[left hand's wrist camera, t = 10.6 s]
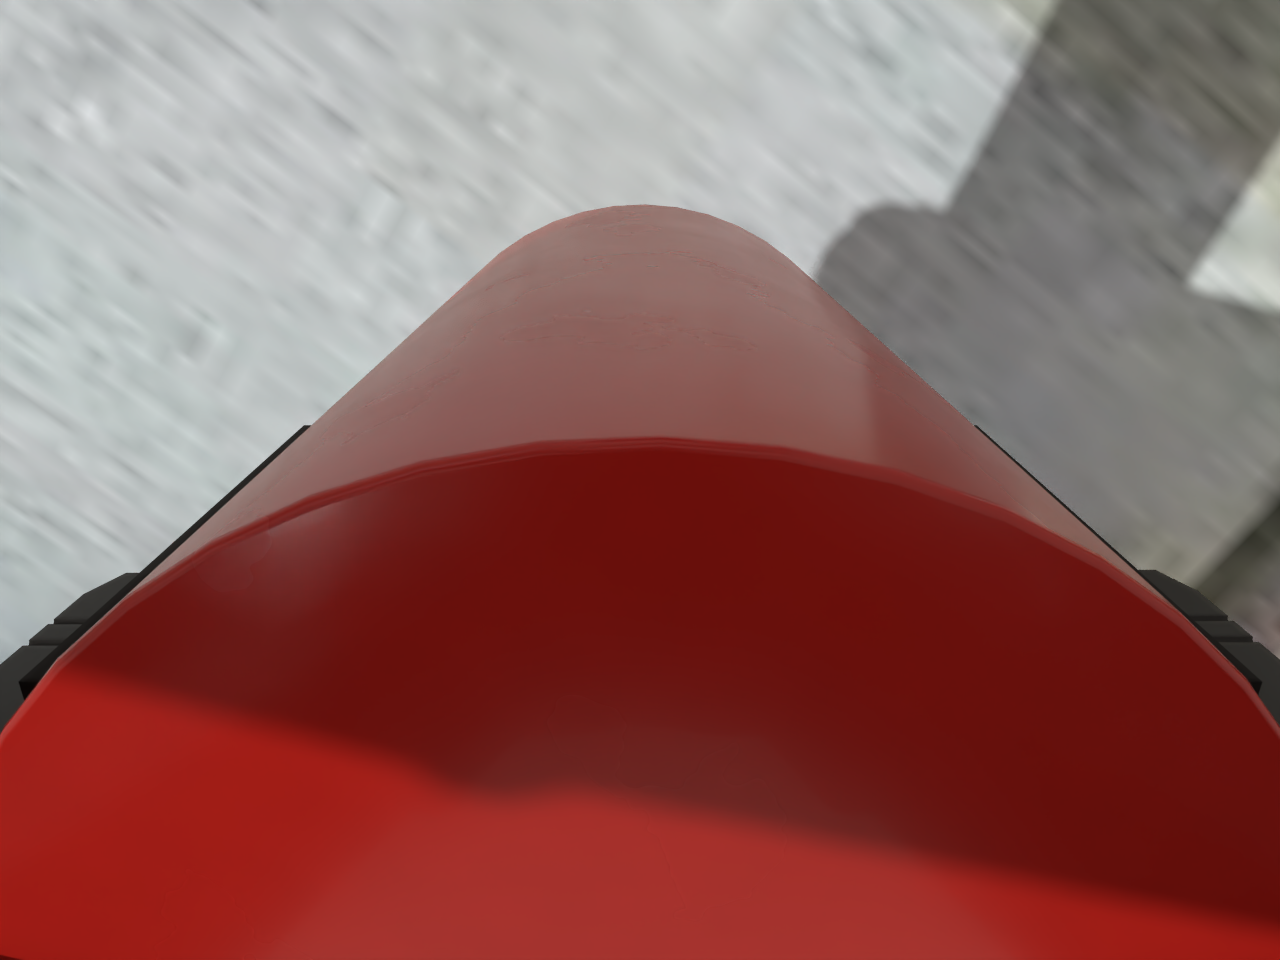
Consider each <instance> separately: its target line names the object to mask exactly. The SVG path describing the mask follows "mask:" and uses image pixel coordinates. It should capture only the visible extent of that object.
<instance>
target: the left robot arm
mask: <svg viewBox="0 0 1280 960" xmlns="http://www.w3.org/2000/svg"><path fill="white" fill-rule="evenodd" d="M310 426H311V425H304V426H303V427H302V428H301V429H299V430H298V431H297V432H296V433H295V434H294V435H293V436H292V437H291V438H289V439H288V440H287V441H286V442H285V443H284V444H283V445H282V446H281V447H279V448H278V449H277V450H276V451H275V452H274V453H273V454H272V455H270V456H269V457H268V458H267V459H266V460H265V461H264V462H263V463H262V464H260V465H259V466H258V467H257V468H256V469H255V470H254V471H253V472H252V473H250V474H249V475H248V476H247V477H246V478H245V479H244V480H243V481H242V482H240V483H239V484H238V485H237V486H236V487H235V488H234V489H233V490H231V491H230V492H229V493H228V494H227V495H226V496H225V497H224V498H223V499H221V500H220V501H219V502H218V503H217V504H216V505H215V506H214V507H213V508H211V509H210V510H209V511H208V512H207V513H206V514H205V515H204V516H202V517H201V518H200V519H199V520H198V521H197V522H196V523H195V524H194V525H192V526H191V527H190V528H189V529H188V530H187V531H186V532H185V533H184V534H182V535H181V536H180V537H179V538H178V539H177V540H176V541H175V542H173V543H172V544H171V545H170V546H169V547H168V548H167V549H166V550H165V551H163V552H162V553H161V554H160V555H159V556H158V557H157V558H156V559H155V560H153V561H152V562H151V563H150V564H149V565H148V566H147V567H146V568H144V569H143V570H142V571H141V572H140V573H125V574H123V575H121V576H119V577H117V578H115V579H113V580H111V581H109V582H107V583H105V584H103V585H101V586H99V587H97V588H95V589H93V590H91V591H89V592H87V593H85V594H83V595H82V596H81V597H80V598H79V599H77V600H76V601H75V602H74V603H73V604H72V605H70V606H69V607H68V608H67V609H66V610H64V611H63V612H62V613H61V614H60V615H59V616H57V617H56V618H55V619H54V624H48V625H47V626H45V627H44V628H43V629H42V630H41V631H40V632H38V633H37V634H36V635H35V636H34V637H32V638H31V639H30V640H29V646H22V647H21V648H19V649H18V650H17V651H16V652H15V653H14V654H12V655H11V656H10V657H9V658H8V659H6V660H5V661H4V662H3V663H2V664H1V665H0V733H1V731H2V730H3V728H4V726H5V725H6V723H7V722H8V721H9V719H10V718H11V717H12V716H13V714H14V713H15V712H16V711H17V709H18V708H19V707H20V705H21V704H22V703H23V702H24V700H25V699H26V698H27V696H28V695H29V694H30V693H31V691H32V690H33V689H34V688H35V686H36V685H37V684H38V682H39V681H40V680H41V679H42V677H43V676H44V675H45V673H46V672H47V671H48V670H49V668H50V667H51V666H52V665H53V663H54V662H55V661H56V659H57V658H58V657H59V656H61V655H62V654H63V653H64V652H65V651H66V650H67V649H68V648H69V647H70V646H71V645H73V644H74V643H75V642H76V641H77V640H78V639H79V638H80V637H81V636H82V635H83V634H85V633H86V632H87V631H88V630H89V629H90V628H91V627H92V626H93V625H94V624H95V623H97V622H98V621H99V620H100V619H101V618H102V617H103V616H104V615H105V614H106V613H107V612H109V611H110V610H111V609H112V608H113V607H114V606H115V605H116V604H117V603H118V602H119V601H121V600H122V599H123V598H124V597H125V596H126V595H127V594H128V593H129V592H130V591H131V590H133V589H134V588H135V587H136V586H137V585H138V584H139V583H140V582H141V581H142V580H143V579H145V578H146V577H147V576H148V575H149V574H150V573H151V572H152V571H153V570H154V569H155V568H157V567H158V566H159V565H160V564H161V563H162V562H163V561H164V560H165V559H166V558H167V557H169V556H170V555H171V554H172V553H173V552H174V551H175V550H176V549H177V548H178V547H179V546H181V545H182V544H183V543H184V542H185V541H186V540H187V539H188V538H189V537H190V536H191V535H193V534H194V533H195V532H196V531H197V530H198V529H199V528H200V527H201V526H202V525H203V524H205V523H206V522H207V521H208V520H209V519H210V518H211V517H212V516H213V515H214V514H215V513H217V512H218V511H219V510H220V509H221V508H222V507H223V506H224V505H225V504H226V503H227V502H229V501H230V500H231V499H232V498H233V497H234V496H235V495H236V494H237V493H238V492H239V491H241V490H242V489H243V488H244V487H245V486H246V485H247V484H248V483H249V482H250V481H251V480H253V479H254V478H255V477H256V476H257V475H258V474H259V473H260V472H261V471H262V470H263V469H265V468H266V467H267V466H268V465H269V464H270V463H271V462H272V461H273V460H274V459H275V458H277V457H278V456H279V455H280V454H281V453H282V452H283V451H284V450H285V449H286V448H287V447H289V446H290V445H291V444H292V443H293V442H294V441H295V440H296V439H297V438H298V437H299V436H301V435H302V434H303V433H304V432H305V431H306V430H307V429H308V428H309V427H310ZM974 426H975V427H976V428H977V429H978V430H979V431H980V432H981V433H983V434H984V435H985V436H986V437H987V438H988V439H989V440H990V441H991V442H992V443H994V444H995V445H996V446H997V447H998V448H999V449H1000V450H1001V451H1002V452H1004V453H1005V454H1006V455H1007V456H1008V457H1009V458H1010V459H1011V460H1012V461H1014V462H1015V463H1016V464H1017V465H1018V466H1019V467H1020V468H1021V469H1022V470H1023V471H1025V472H1026V473H1027V474H1028V475H1029V476H1030V477H1031V478H1032V479H1033V480H1035V481H1036V482H1037V483H1038V484H1039V485H1040V486H1041V487H1042V488H1043V489H1045V490H1046V491H1047V492H1048V493H1049V494H1050V495H1051V496H1052V497H1053V498H1054V499H1056V500H1057V501H1058V502H1059V503H1060V504H1061V505H1062V506H1063V507H1064V508H1066V509H1067V510H1068V511H1069V512H1070V513H1071V514H1072V515H1073V516H1074V517H1076V518H1077V519H1078V520H1079V521H1080V522H1081V523H1082V524H1083V525H1084V526H1086V527H1087V528H1088V529H1089V530H1090V531H1091V532H1092V533H1093V534H1094V535H1095V536H1097V537H1098V538H1099V539H1100V540H1101V541H1102V542H1103V543H1104V544H1105V545H1107V546H1108V547H1109V548H1110V549H1111V550H1112V551H1113V552H1114V553H1115V554H1117V555H1118V556H1119V557H1120V558H1121V559H1122V560H1123V561H1124V562H1125V563H1126V564H1128V565H1129V566H1130V567H1131V568H1132V569H1133V570H1134V571H1135V572H1136V573H1138V574H1139V575H1140V576H1141V577H1142V578H1143V579H1144V580H1145V581H1146V582H1148V583H1149V584H1150V585H1151V586H1152V587H1153V588H1154V589H1155V590H1156V591H1157V592H1159V593H1160V594H1161V595H1162V596H1163V597H1164V598H1165V599H1166V600H1167V601H1169V602H1170V603H1171V604H1172V605H1173V606H1174V607H1175V608H1176V609H1177V610H1179V611H1180V612H1181V613H1182V614H1183V615H1184V616H1185V617H1186V618H1187V619H1188V620H1189V621H1190V622H1191V623H1192V624H1193V625H1194V626H1195V627H1196V628H1197V629H1198V630H1199V631H1200V632H1201V633H1202V634H1203V635H1204V636H1205V637H1206V638H1207V639H1208V640H1209V641H1210V642H1211V643H1212V644H1213V645H1214V646H1215V647H1216V648H1217V649H1218V650H1219V651H1220V652H1221V653H1222V654H1223V655H1224V656H1225V657H1226V658H1227V659H1228V660H1229V661H1230V662H1231V663H1232V664H1233V665H1234V666H1235V667H1236V668H1237V669H1238V670H1239V671H1240V672H1241V673H1242V674H1243V675H1244V676H1245V677H1246V678H1247V680H1248V681H1249V683H1250V684H1251V686H1252V687H1253V688H1254V690H1255V691H1256V693H1257V694H1258V696H1259V697H1260V698H1261V700H1262V701H1263V703H1264V704H1265V706H1266V707H1267V708H1268V710H1269V711H1270V713H1271V714H1272V716H1273V717H1274V718H1275V720H1276V721H1277V723H1278V724H1279V726H1280V659H1278V658H1277V657H1276V656H1275V655H1274V654H1272V653H1271V652H1270V651H1269V650H1268V649H1266V648H1265V647H1264V646H1263V645H1262V644H1260V643H1259V642H1253V640H1252V638H1253V637H1252V636H1251V635H1250V634H1249V633H1247V632H1246V631H1245V630H1244V629H1243V628H1241V627H1240V626H1239V625H1238V624H1237V623H1235V622H1234V621H1228V619H1227V618H1228V616H1227V615H1226V614H1225V613H1223V612H1222V611H1221V610H1220V609H1219V608H1217V607H1216V606H1215V605H1214V604H1213V603H1212V602H1210V601H1209V600H1208V599H1207V598H1206V597H1204V596H1203V595H1202V594H1201V593H1200V592H1198V591H1197V590H1195V589H1193V588H1191V587H1189V586H1187V585H1185V584H1183V583H1181V582H1179V581H1177V580H1175V579H1172V578H1170V577H1168V576H1166V575H1164V574H1162V573H1160V572H1158V571H1156V570H1137V569H1136V568H1135V567H1134V566H1133V565H1132V564H1131V563H1129V562H1128V561H1127V560H1126V559H1125V558H1124V557H1123V556H1122V555H1121V554H1119V553H1118V552H1117V551H1116V550H1115V549H1114V548H1113V547H1112V546H1111V545H1109V544H1108V543H1107V542H1106V541H1105V540H1104V539H1103V538H1102V537H1100V536H1099V535H1098V534H1097V533H1096V532H1095V531H1094V530H1093V529H1092V528H1090V527H1089V526H1088V525H1087V524H1086V523H1085V522H1084V521H1083V520H1082V519H1080V518H1079V517H1078V516H1077V515H1076V514H1075V513H1074V512H1073V511H1071V510H1070V509H1069V508H1068V507H1067V506H1066V505H1065V504H1064V503H1063V502H1061V501H1060V500H1059V499H1058V498H1057V497H1056V496H1055V495H1054V494H1053V493H1051V492H1050V491H1049V490H1048V489H1047V488H1046V487H1045V486H1044V485H1042V484H1041V483H1040V482H1039V481H1038V480H1037V479H1036V478H1035V477H1034V476H1032V475H1031V474H1030V473H1029V472H1028V471H1027V470H1026V469H1025V468H1024V467H1022V466H1021V465H1020V464H1019V463H1018V462H1017V461H1016V460H1015V459H1013V458H1012V457H1011V456H1010V455H1009V454H1008V453H1007V452H1006V451H1005V450H1003V449H1002V448H1001V447H1000V446H999V445H998V444H997V443H996V442H995V441H993V440H992V439H991V438H990V437H989V436H988V435H987V434H986V433H984V432H983V431H982V430H981V429H980V428H979V427H978V426H977V425H974Z"/></svg>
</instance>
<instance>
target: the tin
mask: <svg viewBox="0 0 1280 960" xmlns="http://www.w3.org/2000/svg"><path fill="white" fill-rule="evenodd" d="M0 960H1280V726H1279V724H1278V723H1277V721H1276V720H1275V718H1274V717H1273V716H1272V714H1271V713H1270V711H1269V710H1268V708H1267V707H1266V706H1265V704H1264V703H1263V701H1262V700H1261V698H1260V697H1259V696H1258V694H1257V693H1256V691H1255V690H1254V688H1253V687H1252V686H1251V684H1250V683H1249V681H1248V680H1247V678H1246V677H1245V676H1244V675H1243V674H1242V673H1241V672H1240V671H1239V670H1238V669H1237V668H1236V667H1235V666H1234V665H1233V664H1232V663H1231V662H1230V661H1229V660H1228V659H1227V658H1226V657H1225V656H1224V655H1223V654H1222V653H1221V652H1220V651H1219V650H1218V649H1217V648H1216V647H1215V646H1214V645H1213V644H1212V643H1211V642H1210V641H1209V640H1208V639H1207V638H1206V637H1205V636H1204V635H1203V634H1202V633H1201V632H1200V631H1199V630H1198V629H1197V628H1196V627H1195V626H1194V625H1193V624H1192V623H1191V622H1190V621H1189V620H1188V619H1187V618H1186V617H1185V616H1184V615H1183V614H1182V613H1181V612H1180V611H1179V610H1177V609H1176V608H1175V607H1174V606H1173V605H1172V604H1171V603H1170V602H1169V601H1167V600H1166V599H1165V598H1164V597H1163V596H1162V595H1161V594H1160V593H1159V592H1157V591H1156V590H1155V589H1154V588H1153V587H1152V586H1151V585H1150V584H1149V583H1148V582H1146V581H1145V580H1144V579H1143V578H1142V577H1141V576H1140V575H1139V574H1138V573H1136V572H1135V571H1134V570H1133V569H1132V568H1131V567H1130V566H1129V565H1128V564H1126V563H1125V562H1124V561H1123V560H1122V559H1121V558H1120V557H1119V556H1118V555H1117V554H1115V553H1114V552H1113V551H1112V550H1111V549H1110V548H1109V547H1108V546H1107V545H1105V544H1104V543H1103V542H1102V541H1101V540H1100V539H1099V538H1098V537H1097V536H1095V535H1094V534H1093V533H1092V532H1091V531H1090V530H1089V529H1088V528H1087V527H1086V526H1084V525H1083V524H1082V523H1081V522H1080V521H1079V520H1078V519H1077V518H1076V517H1074V516H1073V515H1072V514H1071V513H1070V512H1069V511H1068V510H1067V509H1066V508H1064V507H1063V506H1062V505H1061V504H1060V503H1059V502H1058V501H1057V500H1056V499H1054V498H1053V497H1052V496H1051V495H1050V494H1049V493H1048V492H1047V491H1046V490H1045V489H1043V488H1042V487H1041V486H1040V485H1039V484H1038V483H1037V482H1036V481H1035V480H1033V479H1032V478H1031V477H1030V476H1029V475H1028V474H1027V473H1026V472H1025V471H1023V470H1022V469H1021V468H1020V467H1019V466H1018V465H1017V464H1016V463H1015V462H1014V461H1012V460H1011V459H1010V458H1009V457H1008V456H1007V455H1006V454H1005V453H1004V452H1002V451H1001V450H1000V449H999V448H998V447H997V446H996V445H995V444H994V443H992V442H991V441H990V440H989V439H988V438H987V437H986V436H985V435H984V434H983V433H981V432H980V431H979V430H978V429H977V428H976V427H975V426H974V425H973V424H971V423H970V422H969V421H968V420H967V419H966V418H965V417H964V416H963V415H961V414H960V413H959V412H958V411H957V410H956V409H955V408H954V407H953V406H952V405H950V404H949V403H948V402H947V401H946V400H945V399H944V398H943V397H942V396H940V395H939V394H938V393H937V392H936V391H935V390H934V389H933V388H932V387H930V386H929V385H928V384H927V383H926V382H925V381H924V380H923V379H922V378H921V377H919V376H918V375H917V374H916V373H915V372H914V371H913V370H912V369H911V368H909V367H908V366H907V365H906V364H905V363H904V362H903V361H902V360H901V359H899V358H898V357H897V356H896V355H895V354H894V353H893V352H892V351H891V350H889V349H888V348H887V347H886V346H885V345H884V344H883V343H882V342H881V341H880V340H878V339H877V338H876V337H875V336H874V335H873V334H872V333H871V332H870V331H868V330H867V329H866V328H865V327H864V326H863V325H862V324H861V323H860V322H858V321H857V320H856V319H855V318H854V317H853V316H852V315H851V314H850V313H849V312H847V311H846V310H845V309H844V308H843V307H842V306H841V305H840V304H839V303H837V302H836V301H835V300H834V299H833V298H832V297H831V296H830V295H829V294H827V293H826V292H825V291H824V290H823V289H822V288H821V287H820V286H819V285H818V284H816V283H815V282H814V281H813V280H812V279H811V278H810V277H809V276H808V275H806V274H805V273H804V272H803V271H802V270H801V269H800V268H799V267H798V266H796V265H795V264H794V263H793V262H792V261H791V260H790V259H789V258H787V257H786V256H785V255H783V254H782V253H781V252H779V251H778V250H777V249H775V248H774V247H773V246H771V245H770V244H769V243H767V242H766V241H764V240H763V239H761V238H759V237H757V236H755V235H754V234H752V233H750V232H748V231H746V230H744V229H743V228H741V227H739V226H737V225H734V224H732V223H729V222H727V221H724V220H721V219H719V218H716V217H713V216H711V215H708V214H704V213H699V212H695V211H691V210H686V209H682V208H678V207H667V206H656V205H627V206H612V207H607V208H601V209H596V210H591V211H585V212H581V213H578V214H575V215H572V216H569V217H566V218H563V219H560V220H557V221H554V222H552V223H550V224H548V225H546V226H544V227H542V228H540V229H538V230H536V231H534V232H532V233H530V234H528V235H526V236H524V237H523V238H521V239H520V240H518V241H517V242H515V243H514V244H512V245H511V246H509V247H508V248H506V249H505V250H503V251H502V252H501V253H499V254H498V255H497V256H496V257H495V258H494V259H493V260H492V261H490V262H489V263H488V264H487V265H486V266H485V267H484V268H483V269H482V270H481V271H479V272H478V273H477V274H476V275H475V276H474V277H473V278H472V279H471V280H470V281H469V282H467V283H466V284H465V285H464V286H463V287H462V288H461V289H460V290H459V291H458V292H457V293H455V294H454V295H453V296H452V297H451V298H450V299H449V300H448V301H447V302H446V303H445V304H443V305H442V306H441V307H440V308H439V309H438V310H437V311H436V312H435V313H434V314H433V315H431V316H430V317H429V318H428V319H427V320H426V321H425V322H424V323H423V324H422V325H421V326H419V327H418V328H417V329H416V330H415V331H414V332H413V333H412V334H411V335H410V336H409V337H407V338H406V339H405V340H404V341H403V342H402V343H401V344H400V345H399V346H398V347H397V348H395V349H394V350H393V351H392V352H391V353H390V354H389V355H388V356H387V357H386V358H385V359H383V360H382V361H381V362H380V363H379V364H378V365H377V366H376V367H375V368H374V369H373V370H371V371H370V372H369V373H368V374H367V375H366V376H365V377H364V378H363V379H362V380H361V381H359V382H358V383H357V384H356V385H355V386H354V387H353V388H352V389H351V390H350V391H349V392H347V393H346V394H345V395H344V396H343V397H342V398H341V399H340V400H339V401H338V402H337V403H335V404H334V405H333V406H332V407H331V408H330V409H329V410H328V411H327V412H326V413H325V414H323V415H322V416H321V417H320V418H319V419H318V420H317V421H316V422H315V423H314V424H313V425H311V426H310V427H309V428H308V429H307V430H306V431H305V432H304V433H303V434H302V435H301V436H299V437H298V438H297V439H296V440H295V441H294V442H293V443H292V444H291V445H290V446H289V447H287V448H286V449H285V450H284V451H283V452H282V453H281V454H280V455H279V456H278V457H277V458H275V459H274V460H273V461H272V462H271V463H270V464H269V465H268V466H267V467H266V468H265V469H263V470H262V471H261V472H260V473H259V474H258V475H257V476H256V477H255V478H254V479H253V480H251V481H250V482H249V483H248V484H247V485H246V486H245V487H244V488H243V489H242V490H241V491H239V492H238V493H237V494H236V495H235V496H234V497H233V498H232V499H231V500H230V501H229V502H227V503H226V504H225V505H224V506H223V507H222V508H221V509H220V510H219V511H218V512H217V513H215V514H214V515H213V516H212V517H211V518H210V519H209V520H208V521H207V522H206V523H205V524H203V525H202V526H201V527H200V528H199V529H198V530H197V531H196V532H195V533H194V534H193V535H191V536H190V537H189V538H188V539H187V540H186V541H185V542H184V543H183V544H182V545H181V546H179V547H178V548H177V549H176V550H175V551H174V552H173V553H172V554H171V555H170V556H169V557H167V558H166V559H165V560H164V561H163V562H162V563H161V564H160V565H159V566H158V567H157V568H155V569H154V570H153V571H152V572H151V573H150V574H149V575H148V576H147V577H146V578H145V579H143V580H142V581H141V582H140V583H139V584H138V585H137V586H136V587H135V588H134V589H133V590H131V591H130V592H129V593H128V594H127V595H126V596H125V597H124V598H123V599H122V600H121V601H119V602H118V603H117V604H116V605H115V606H114V607H113V608H112V609H111V610H110V611H109V612H107V613H106V614H105V615H104V616H103V617H102V618H101V619H100V620H99V621H98V622H97V623H95V624H94V625H93V626H92V627H91V628H90V629H89V630H88V631H87V632H86V633H85V634H83V635H82V636H81V637H80V638H79V639H78V640H77V641H76V642H75V643H74V644H73V645H71V646H70V647H69V648H68V649H67V650H66V651H65V652H64V653H63V654H62V655H61V656H59V657H58V658H57V659H56V661H55V662H54V663H53V665H52V666H51V667H50V668H49V670H48V671H47V672H46V673H45V675H44V676H43V677H42V679H41V680H40V681H39V682H38V684H37V685H36V686H35V688H34V689H33V690H32V691H31V693H30V694H29V695H28V696H27V698H26V699H25V700H24V702H23V703H22V704H21V705H20V707H19V708H18V709H17V711H16V712H15V713H14V714H13V716H12V717H11V718H10V719H9V721H8V722H7V723H6V725H5V726H4V728H3V730H2V731H1V733H0Z"/></svg>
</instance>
